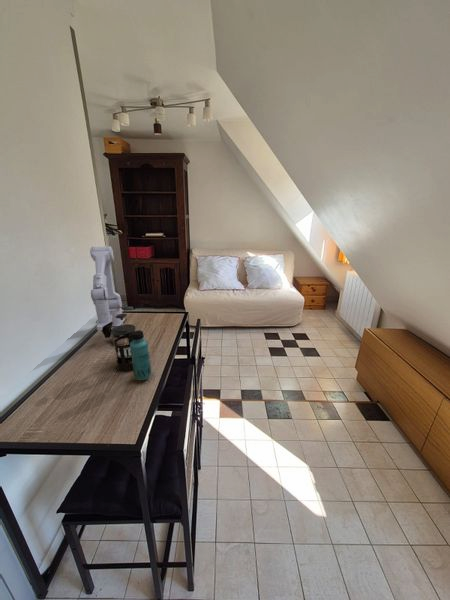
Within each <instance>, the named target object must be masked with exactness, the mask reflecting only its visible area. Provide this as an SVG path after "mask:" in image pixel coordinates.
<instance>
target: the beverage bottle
mask: <svg viewBox="0 0 450 600" xmlns="http://www.w3.org/2000/svg"><path fill="white" fill-rule="evenodd" d="M144 337H145V335H144V331H143V330H139V329H138V330H135V331H134V332H132V339H133V341H132V342H131V343H130V349H131V355H132V360H131V363H132V364H133V369H134V370H133V371H132V372H133V376H134V378H135V380H137V381H144V380H147V379H149V378H150V377H151V375H152V366H151V360H150V352H149V345H148V340H147V339H145V338H144Z"/></svg>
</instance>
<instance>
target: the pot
mask: <svg viewBox="0 0 450 600" xmlns="http://www.w3.org/2000/svg"><path fill="white" fill-rule="evenodd" d="M115 327H116V326H113V327H112V328H111V330H110V333H111V336H110V339H111V343H112V344H113V345H114V343H113V342H114V340H115V339H116V338H118V337H120V336H123V335H116V336H115V337H114V336H113V334H112V332H111V331H112V329H113V328H115ZM127 343H129V341H128V338H126V344H127ZM126 344H125V338H124V339H121V340H119V341H117V345H126Z"/></svg>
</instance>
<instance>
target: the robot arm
mask: <svg viewBox="0 0 450 600" xmlns="http://www.w3.org/2000/svg"><path fill="white" fill-rule="evenodd" d="M89 251H90V252H89V255H90V257H91V259H92V260H93V262H94V263H95V265H94V266H95V274H94V275H93V277H92V278H93V279H92V289H90V298H91V301H92V303H93V305H94V309H95V312H96V313H95V314H96V317H97V320H95V323H97V324H96V325H97V326H96V331H99V332H101V333H102V334H103V336H104V338H105V339H111V333H110V330H111V329H112V328H113V327H117V326H120V325H122V320H121V319H120V318H116V316H117V315H119V314H123V309H122V307H123V302H122V298H121V295H120V293H117V292H116V291H115V288H114V280H113V279H114V278H113V273H112V266H111V265H112V263H114V262H115V257H114V251H113V247H112V246H110V245H108V246H91V247H90V249H89ZM125 320H126V318H123V323H124V322H125Z"/></svg>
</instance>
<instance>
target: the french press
mask: <svg viewBox="0 0 450 600" xmlns="http://www.w3.org/2000/svg"><path fill="white" fill-rule="evenodd" d="M127 316H128V314H127V313H122V314H119V315H117V316H116V318H120V319H121V320H122V324H121V325H120V326H114V327H115V328H114V327H112V328H113V329H112V328H111V329H112V331H111V332H112V334H113V336H114V337H115V336H116V335H123V336H120V337H118V338H116V339H115V340H114V342H113V343H114V344H113V343H112V344H113V346H114V350H115V355H116V363H117V370H118V371H120V372H123V373H128V372H133V371H134V369H133V364H132V362H131V363H127V362H128V361H132V355H131V349H130V343H131V342H132V341H133V339H132V332H134V331H136V326H135V325H134V324H130V323H129V324H128V323H127V324H126V323H125V324H124V322H123V319H125V318H126V317H127ZM124 338H125V344H119V345H117V341H119V340H121V339H124ZM126 338H128V341H129V342H128V344H127V343H126Z"/></svg>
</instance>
